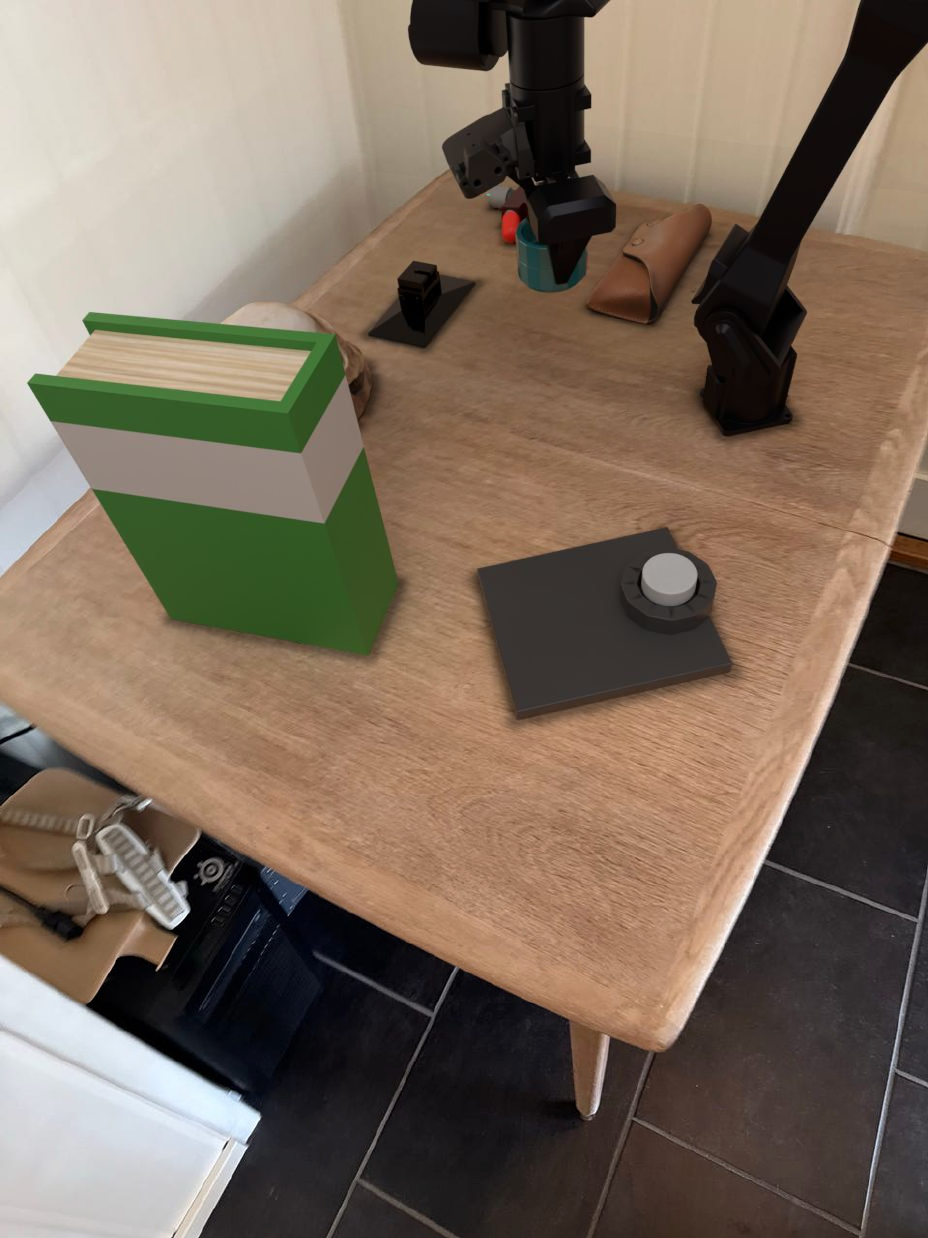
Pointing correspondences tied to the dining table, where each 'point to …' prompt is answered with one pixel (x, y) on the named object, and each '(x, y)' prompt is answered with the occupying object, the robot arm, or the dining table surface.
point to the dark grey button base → (597, 625)
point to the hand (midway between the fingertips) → (552, 263)
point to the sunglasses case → (651, 266)
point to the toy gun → (509, 209)
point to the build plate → (421, 305)
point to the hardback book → (230, 473)
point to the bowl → (542, 263)
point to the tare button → (669, 579)
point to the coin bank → (300, 320)
